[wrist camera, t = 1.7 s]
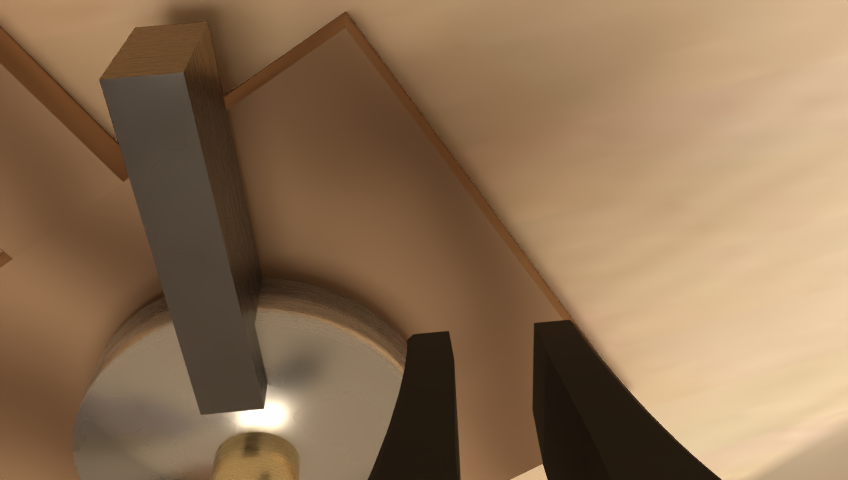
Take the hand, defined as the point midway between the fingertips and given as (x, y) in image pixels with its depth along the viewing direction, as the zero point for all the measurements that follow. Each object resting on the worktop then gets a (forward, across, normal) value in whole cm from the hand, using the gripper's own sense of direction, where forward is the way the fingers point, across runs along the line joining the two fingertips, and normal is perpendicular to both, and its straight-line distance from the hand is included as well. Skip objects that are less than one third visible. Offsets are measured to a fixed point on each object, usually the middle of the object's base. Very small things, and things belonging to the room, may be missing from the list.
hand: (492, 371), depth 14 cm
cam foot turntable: (+8, +6, +4) cm, 11 cm away
